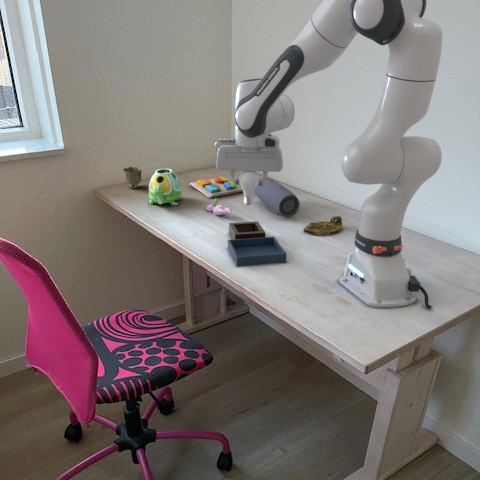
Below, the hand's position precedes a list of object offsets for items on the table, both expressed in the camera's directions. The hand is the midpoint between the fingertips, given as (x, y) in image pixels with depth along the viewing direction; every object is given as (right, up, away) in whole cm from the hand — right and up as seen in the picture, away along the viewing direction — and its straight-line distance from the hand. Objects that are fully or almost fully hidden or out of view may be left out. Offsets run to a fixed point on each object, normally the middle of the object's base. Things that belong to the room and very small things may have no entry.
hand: (249, 185), depth 157 cm
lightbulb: (0, -6, +3) cm, 6 cm away
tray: (+2, -22, -1) cm, 22 cm away
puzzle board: (-12, +12, +54) cm, 57 cm away
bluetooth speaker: (+11, -1, +34) cm, 36 cm away
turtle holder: (-32, +3, +39) cm, 50 cm away
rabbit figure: (-11, -3, +29) cm, 31 cm away
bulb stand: (-1, -15, +10) cm, 18 cm away
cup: (-47, +13, +54) cm, 73 cm away
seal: (+26, -11, +18) cm, 34 cm away
